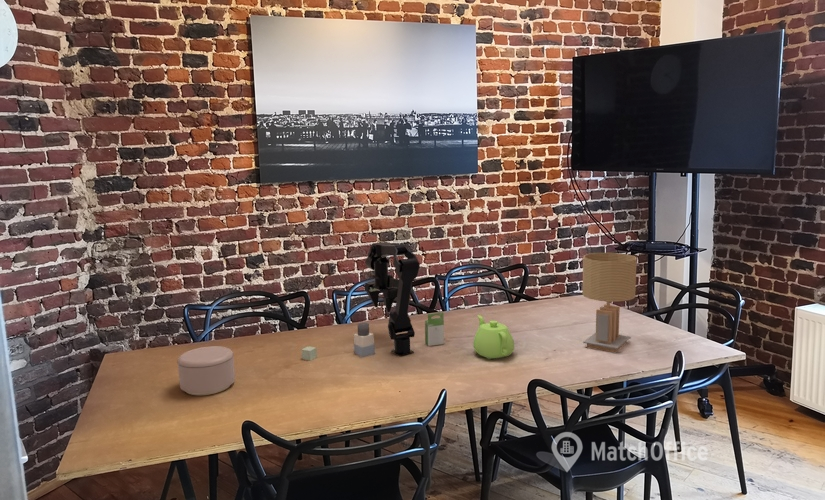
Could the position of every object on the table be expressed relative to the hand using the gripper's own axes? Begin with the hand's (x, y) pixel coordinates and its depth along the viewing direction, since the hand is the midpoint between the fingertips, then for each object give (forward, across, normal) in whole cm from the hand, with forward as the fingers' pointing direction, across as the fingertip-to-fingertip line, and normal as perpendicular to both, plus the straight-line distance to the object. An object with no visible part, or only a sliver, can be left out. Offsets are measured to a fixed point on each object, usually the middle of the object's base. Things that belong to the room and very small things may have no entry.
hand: (382, 309), depth 245 cm
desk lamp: (+13, -63, -64) cm, 91 cm away
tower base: (+13, -9, +15) cm, 22 cm away
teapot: (+13, -41, -23) cm, 49 cm away
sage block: (+13, 0, +34) cm, 36 cm away
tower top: (+9, -9, +15) cm, 20 cm away
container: (+13, -3, +73) cm, 75 cm away
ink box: (+13, -18, -13) cm, 26 cm away
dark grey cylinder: (+5, -9, +15) cm, 18 cm away
